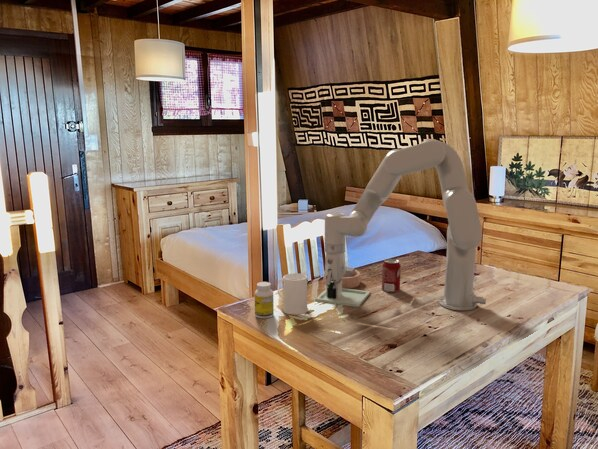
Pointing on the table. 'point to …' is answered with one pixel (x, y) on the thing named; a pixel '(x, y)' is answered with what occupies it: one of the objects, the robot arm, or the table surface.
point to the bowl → (348, 280)
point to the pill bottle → (264, 300)
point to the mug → (294, 293)
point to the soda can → (391, 275)
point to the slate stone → (349, 272)
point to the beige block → (337, 288)
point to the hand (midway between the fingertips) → (334, 295)
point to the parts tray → (346, 297)
